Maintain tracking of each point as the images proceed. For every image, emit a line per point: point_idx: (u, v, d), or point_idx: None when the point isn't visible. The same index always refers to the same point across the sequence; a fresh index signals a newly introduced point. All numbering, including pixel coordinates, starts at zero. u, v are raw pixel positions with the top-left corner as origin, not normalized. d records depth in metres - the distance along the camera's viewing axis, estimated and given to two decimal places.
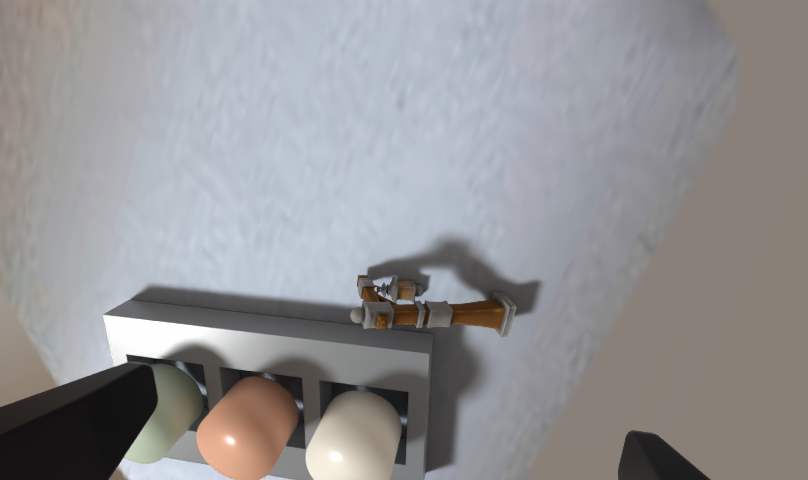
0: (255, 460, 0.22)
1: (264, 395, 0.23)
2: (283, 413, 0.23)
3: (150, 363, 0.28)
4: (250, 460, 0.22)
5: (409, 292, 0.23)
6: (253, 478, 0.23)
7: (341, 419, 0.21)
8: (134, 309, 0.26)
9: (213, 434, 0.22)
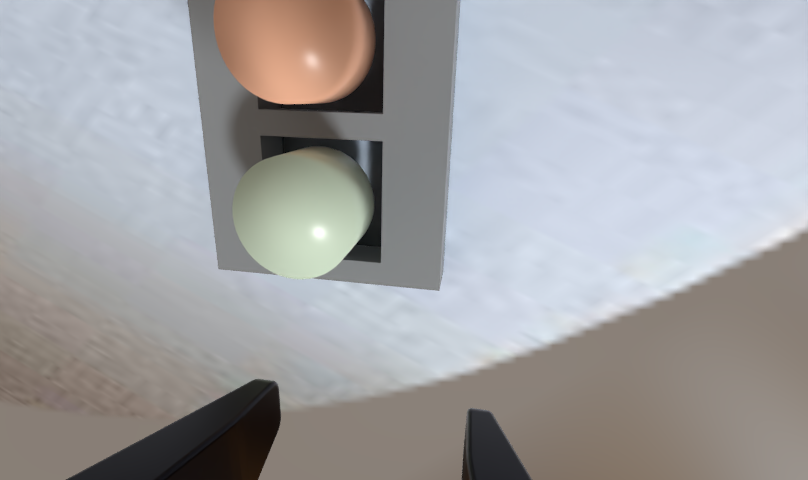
0: None
1: None
2: None
3: None
4: None
5: None
6: None
7: None
8: None
9: (263, 69, 0.13)
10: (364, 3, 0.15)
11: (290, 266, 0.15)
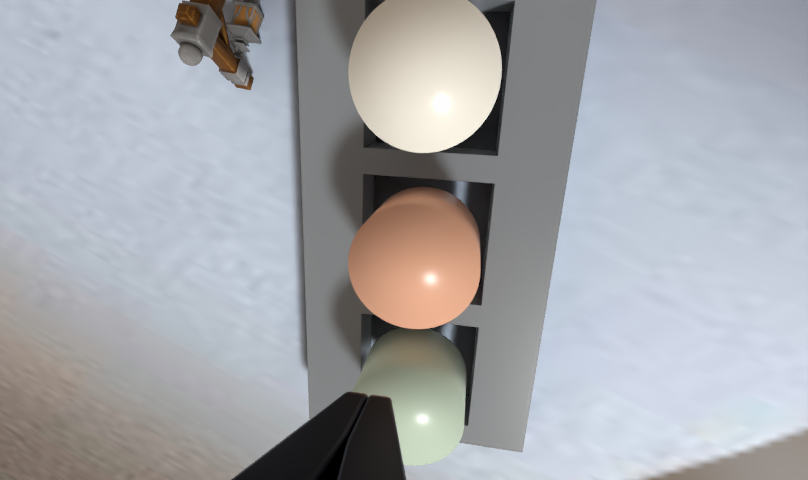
0: (432, 240, 0.14)
1: None
2: (392, 199, 0.15)
3: None
4: (434, 249, 0.14)
5: (242, 10, 0.17)
6: (473, 251, 0.14)
7: None
8: None
9: (391, 299, 0.15)
10: (474, 221, 0.16)
11: None
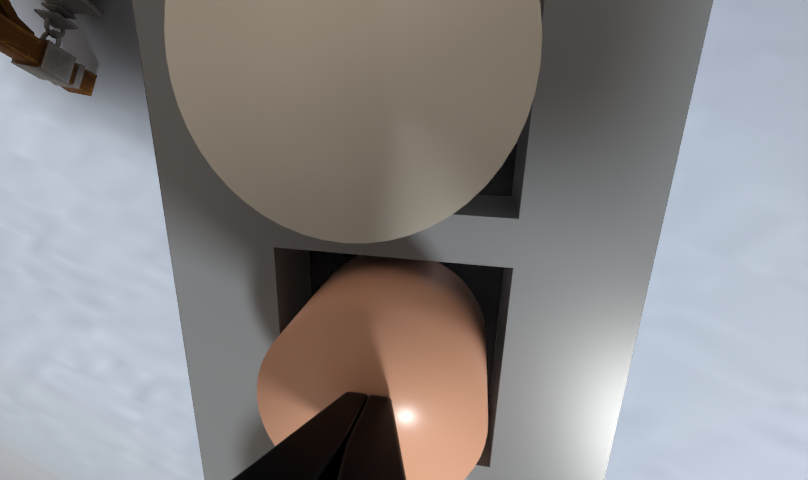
0: (400, 370, 0.08)
1: None
2: (338, 278, 0.09)
3: None
4: (404, 384, 0.08)
5: None
6: (475, 390, 0.07)
7: None
8: None
9: None
10: (477, 309, 0.10)
11: None
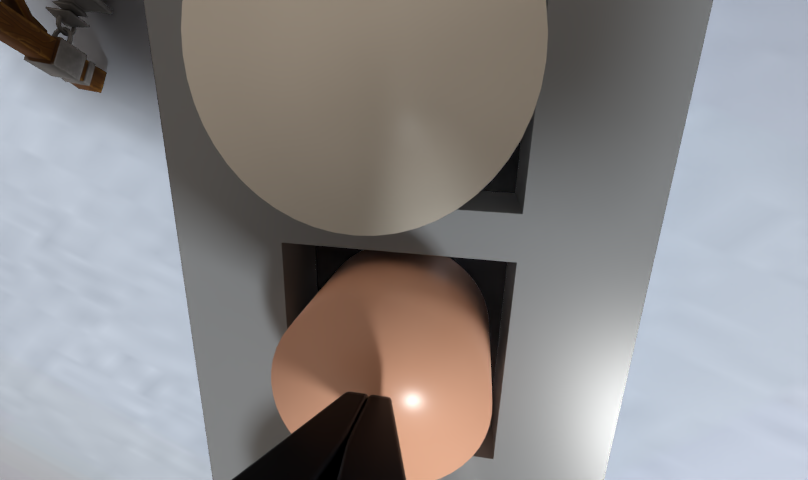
0: (408, 354, 0.08)
1: None
2: (348, 269, 0.10)
3: None
4: (413, 368, 0.08)
5: None
6: (480, 373, 0.08)
7: None
8: None
9: None
10: (480, 299, 0.10)
11: None
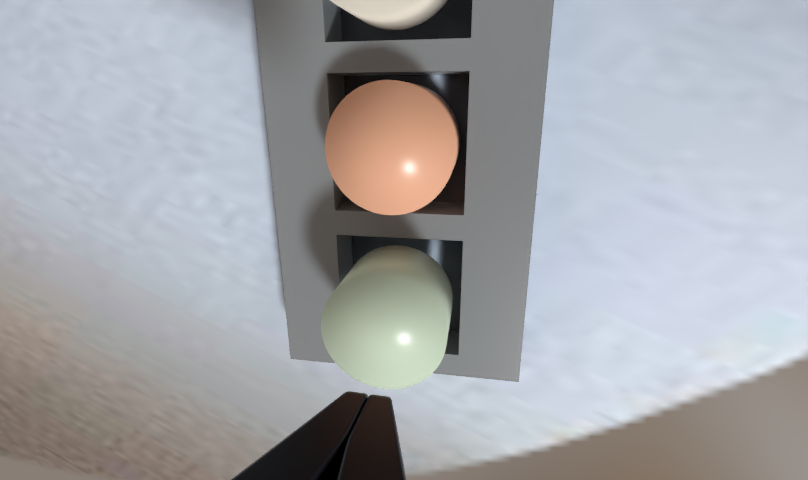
0: (405, 117, 0.14)
1: None
2: None
3: None
4: (408, 126, 0.14)
5: None
6: (447, 125, 0.14)
7: None
8: None
9: (370, 185, 0.15)
10: (452, 113, 0.16)
11: (379, 377, 0.15)
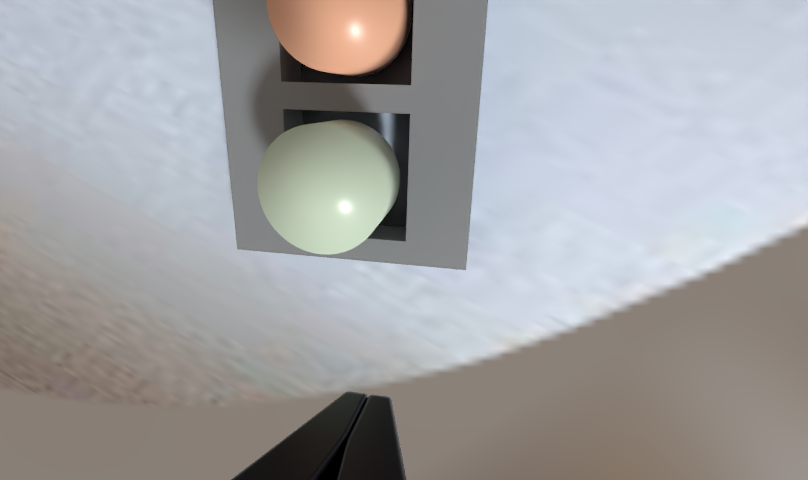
0: None
1: None
2: None
3: None
4: None
5: None
6: None
7: None
8: None
9: (311, 39, 0.14)
10: None
11: (316, 241, 0.15)
